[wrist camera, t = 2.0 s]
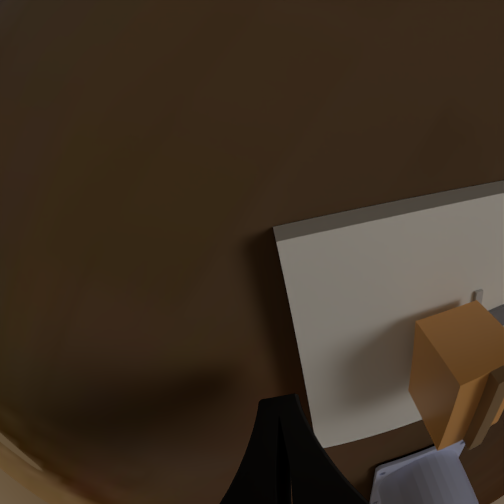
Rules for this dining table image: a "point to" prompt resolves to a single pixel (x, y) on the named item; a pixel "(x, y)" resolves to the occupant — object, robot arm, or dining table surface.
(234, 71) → the dining table surface
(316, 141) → the dining table surface
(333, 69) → the dining table surface
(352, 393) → the fader console
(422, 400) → the fader tab
